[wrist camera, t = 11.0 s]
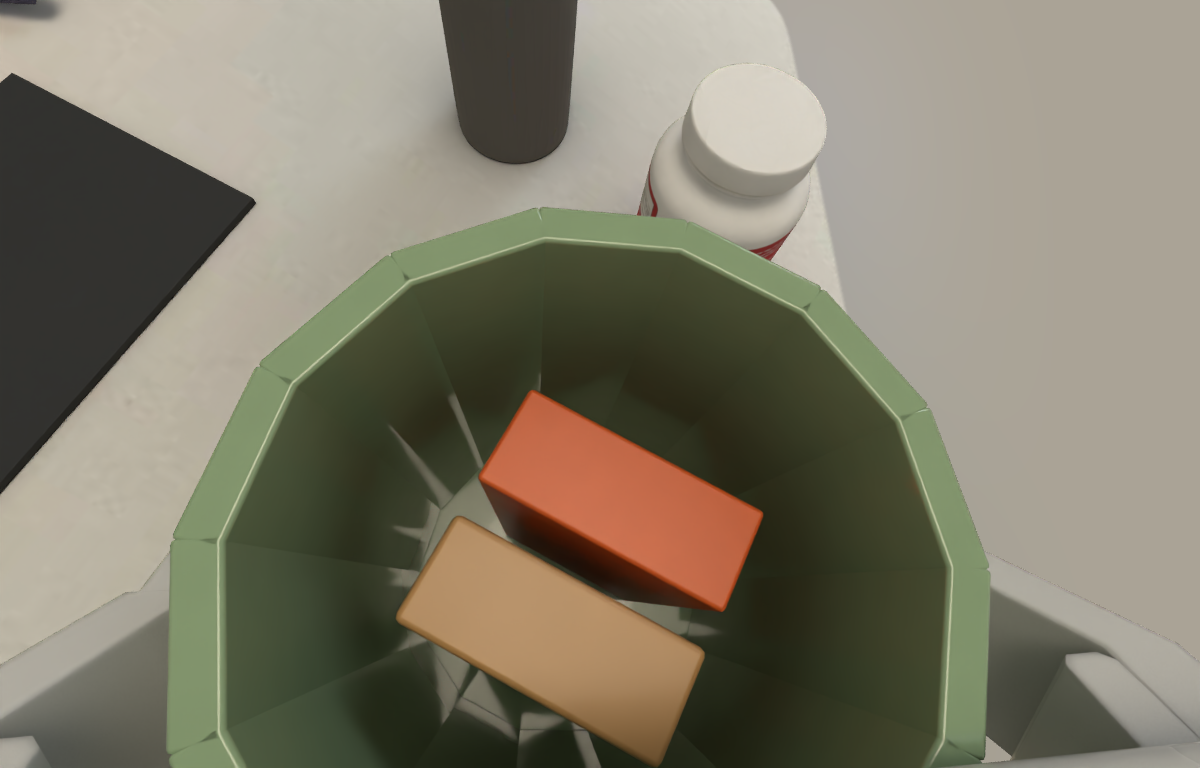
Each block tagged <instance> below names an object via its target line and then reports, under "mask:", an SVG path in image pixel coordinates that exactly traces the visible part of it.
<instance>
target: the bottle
mask: <svg viewBox="0 0 1200 768" xmlns="http://www.w3.org/2000/svg"><path fill="white" fill-rule="evenodd" d="M439 3H440V10H441V16H442V22H443V28H444V34H445V40H446V47H447V53H448V59H449V65H450V71H451V77H452V84H453V90H454V96H455V101H456V107H457V112H458V117H459V122H460V126H461V129H462V132H463V134H464V136H465V137H466V139H467V140H468V142H469V143H470V144H471V145H472V146H473V147H474V148H475V149H476V150H478V151H479V152H480V153H482V154H484V155H486V156H488V157H490V158H492V159H495V160H498V161H502V162H509V163H523V162H531V161H534V160H537V159H540V158H542V157H544V156H546V155H548V154H549V153H550V152H552V151H553V150H554V149H555V148H556V147H557V146H558V145H559V144H560V143H561V141H562V139H563V138H564V135H565V133H566V130H567V125H568V117H569V107H570V94H571V81H572V68H573V55H574V42H575V28H576V14H577V0H439Z"/></svg>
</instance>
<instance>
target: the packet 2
mask: <svg viewBox="0 0 1200 768" xmlns="http://www.w3.org/2000/svg"><path fill="white" fill-rule="evenodd" d="M396 620H397V622H398V623H399V624H400V625H402V626H404V627H406V628H407V629H409V630H411V631H413V632H415V633H416V634H418V635H420V636H422V637H423V638H425V639H427V640H429V641H430V642H432V643H434V644H436V645H437V646H439V647H441V648H443V649H444V650H446V651H448V652H450V653H451V654H453V655H455V656H457V657H458V658H460V659H462V660H464V661H466V662H467V663H469V664H471V665H473V666H474V667H476V668H478V669H480V670H481V671H483V672H485V673H487V674H488V675H490V676H492V677H494V678H495V679H497V680H499V681H501V682H502V683H504V684H506V685H508V686H509V687H511V688H513V689H515V690H517V691H518V692H520V693H522V694H524V695H525V696H527V697H529V698H531V699H532V700H534V701H536V702H538V703H539V704H541V705H543V706H545V707H546V708H548V709H550V710H552V711H553V712H555V713H557V714H559V715H561V716H562V717H564V718H566V719H568V720H569V721H571V722H573V723H575V724H576V725H578V726H580V727H582V728H583V729H585V730H587V731H589V732H590V733H592V734H594V735H596V736H597V737H599V738H601V739H603V740H604V741H606V742H608V743H610V744H612V745H613V746H615V747H617V748H619V749H620V750H622V751H624V752H626V753H627V754H629V755H631V756H633V757H634V758H636V759H638V760H640V761H641V762H643V763H645V764H647V765H648V766H650V767H658V766H659V765H660V764H661V763H662V761H663V758H664V756H665V753H666V751H667V749H668V746H669V744H670V741H671V739H672V736H673V734H674V731H675V729H676V727H677V724H678V722H679V719H680V717H681V714H682V712H683V710H684V707H685V705H686V702H687V700H688V697H689V695H690V692H691V690H692V688H693V685H694V683H695V680H696V678H697V675H698V673H699V671H700V668H701V666H702V663H703V661H704V655H705V652H704V651H703V650H702V648H701V647H699V646H698V645H696V644H694V643H692V642H690V641H688V640H687V639H685V638H683V637H681V636H679V635H678V634H676V633H674V632H672V631H670V630H669V629H667V628H665V627H663V626H661V625H659V624H658V623H656V622H654V621H652V620H650V619H649V618H647V617H645V616H643V615H641V614H640V613H638V612H636V611H634V610H632V609H630V608H629V607H627V606H625V605H623V604H621V603H620V602H618V601H616V600H614V599H612V598H611V597H609V596H607V595H605V594H603V593H601V592H600V591H598V590H596V589H594V588H592V587H591V586H589V585H587V584H585V583H583V582H582V581H580V580H578V579H576V578H574V577H572V576H571V575H569V574H567V573H565V572H563V571H562V570H560V569H558V568H556V567H554V566H553V565H551V564H549V563H547V562H545V561H543V560H542V559H540V558H538V557H536V556H534V555H533V554H531V553H529V552H527V551H525V550H523V549H522V548H520V547H518V546H516V545H514V544H513V543H511V542H509V541H507V540H505V539H504V538H502V537H500V536H498V535H496V534H494V533H493V532H491V531H489V530H487V529H485V528H484V527H482V526H480V525H478V524H476V523H475V522H473V521H471V520H469V519H467V518H465V517H464V516H456V517H455V518H453V519H452V521H451V522H450V524H449V526H448V527H447V529H446V531H445V532H444V534H443V536H442V537H441V539H440V541H439V542H438V544H437V546H436V547H435V549H434V551H433V552H432V554H431V556H430V557H429V559H428V561H427V562H426V564H425V566H424V567H423V569H422V571H421V572H420V574H419V576H418V577H417V579H416V581H415V582H414V584H413V586H412V587H411V589H410V591H409V592H408V594H407V596H406V597H405V599H404V601H403V602H402V604H401V606H400V607H399V609H398V611H397V613H396Z"/></svg>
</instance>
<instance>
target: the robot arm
mask: <svg viewBox="0 0 1200 768" xmlns="http://www.w3.org/2000/svg"><path fill="white" fill-rule="evenodd" d="M984 552H985V555H986V558H987V560H988V563H989V568H988V569H987V570H988V571H990V574H991V582H990V615H989V647H988V680H987V712H986V736H988V737H989V738H990V739H991V740H992V741H994V742H995V743H996V744H997V745H999V746H1000V747H1001V748H1002V749H1004V750H1005V751H1006V752H1007V753H1008V754H1010V755H1011V756H1012V758H1011V759H1010V761H1001V762H991V763H981V764H971V765H960V766H951V767H941V768H1200V662H1199V661H1198V660H1196V658H1195V657H1193V656H1192V655H1191V654H1190V653H1189V652H1188V651H1186V650H1185V649H1184V648H1183V647H1182V646H1180V645H1179V644H1178V643H1176V642H1174V641H1172V640H1170V639H1168V638H1166V637H1164V636H1161V635H1160V634H1157V633H1155V632H1153V631H1151V630H1149V629H1147V628H1145V627H1143V626H1140V625H1139V624H1136V623H1134V622H1132V621H1130V620H1128V619H1126V618H1124V617H1122V616H1120V615H1117V614H1116V613H1113V612H1111V611H1109V610H1107V609H1105V608H1103V607H1101V606H1099V605H1097V604H1095V603H1093V602H1090V601H1088V600H1086V599H1084V598H1082V597H1080V596H1078V595H1076V594H1074V593H1072V592H1070V591H1068V590H1065V589H1063V588H1061V587H1059V586H1057V585H1055V584H1053V583H1051V582H1049V581H1046V580H1045V579H1042V578H1040V577H1038V576H1036V575H1034V574H1032V573H1030V572H1028V571H1026V570H1024V569H1022V568H1019V567H1017V566H1015V565H1013V564H1011V563H1009V562H1007V561H1005V560H1003V559H1001V558H999V557H997V556H994V555H992V554H990V553H988V552H986V551H984ZM169 589H170V552H169V553H168V554H167V555H166V557H165V558H164V559H163V561H162V562H161V563H160V565H159V566H158V567H157V569H156V570H155V571H154V572H153V574H152V575H151V576H150V578H149V579H148V580H147V582H146V583H145V584H144V585H143V587H142V588H141V589H140V591H139V592H125V593H123V594H122V595H120V596H118V597H117V598H115V599H113V600H111V601H110V602H108V603H106V604H104V605H103V606H101V607H99V608H98V609H96V610H94V611H92V612H91V613H89V614H87V615H85V616H84V617H82V618H80V619H78V620H77V621H75V622H73V623H72V624H70V625H68V626H66V627H65V628H63V629H61V630H59V631H58V632H56V633H54V634H53V635H51V636H49V637H47V638H46V639H44V640H42V641H40V642H39V643H37V644H35V645H34V646H32V647H30V648H28V649H27V650H25V651H23V652H21V653H20V654H18V655H16V656H15V657H13V658H11V659H9V660H8V661H6V662H4V663H2V664H1V665H0V768H171V766H170V764H169V758H170V757H171V755H170V754H168V753H167V751H166V738H167V688H168V638H169Z"/></svg>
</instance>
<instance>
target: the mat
mask: <svg viewBox="0 0 1200 768" xmlns="http://www.w3.org/2000/svg"><path fill="white" fill-rule="evenodd" d="M255 203H256V202H255V201H254V199H253V198H252V197H250V196H248V195H246V194H244V193H242V192H240V191H238V190H236V189H234V188H232V187H230V186H228V185H227V184H225V183H223V182H221V181H219V180H217V179H215V178H213V177H211V176H209V175H207V174H205V173H203V172H202V171H200V170H198V169H196V168H194V167H192V166H190V165H188V164H186V163H184V162H182V161H180V160H179V159H177V158H175V157H173V156H171V155H169V154H167V153H165V152H163V151H161V150H159V149H157V148H155V147H154V146H152V145H150V144H148V143H146V142H144V141H142V140H140V139H138V138H136V137H134V136H132V135H130V134H129V133H127V132H125V131H123V130H121V129H119V128H117V127H115V126H113V125H111V124H109V123H107V122H105V121H104V120H102V119H100V118H98V117H96V116H94V115H92V114H90V113H88V112H86V111H84V110H82V109H81V108H79V107H77V106H75V105H73V104H71V103H69V102H67V101H65V100H63V99H61V98H59V97H57V96H56V95H54V94H52V93H50V92H48V91H46V90H44V89H42V88H40V87H38V86H36V85H34V84H32V83H31V82H29V81H27V80H25V79H23V78H21V77H19V76H17V75H15V74H13V73H11V74H10V75H9V76H8V77H7V78H5V79H4V80H3V81H2V82H1V83H0V492H1V491H2V490H3V489H4V488H5V487H6V486H7V484H8V483H9V482H10V481H11V480H12V479H13V478H14V476H15V475H16V474H17V473H18V472H19V471H20V470H21V469H22V467H23V466H24V465H25V464H26V463H27V462H28V461H29V459H30V458H31V457H32V456H33V455H34V454H35V453H36V452H37V450H38V449H39V448H40V447H41V446H42V445H43V444H44V442H45V441H46V440H47V439H48V438H49V437H50V436H51V435H52V433H53V432H54V431H55V430H56V429H57V428H58V427H59V425H60V424H61V423H62V422H63V421H64V420H65V419H66V418H67V416H68V415H69V414H70V413H71V412H72V411H73V410H74V408H75V407H76V406H77V405H78V404H79V403H80V402H81V400H82V399H83V398H84V397H85V396H86V395H87V394H88V393H89V391H90V390H91V389H92V388H93V387H94V386H95V385H96V383H97V382H98V381H99V380H100V379H101V378H102V377H103V376H104V374H105V373H106V372H107V371H108V370H109V369H110V368H111V366H112V365H113V364H114V363H115V362H116V361H117V360H118V359H119V357H120V356H121V355H122V354H123V353H124V352H125V351H126V349H127V348H128V347H129V346H130V345H131V344H132V343H133V342H134V340H135V339H136V338H137V337H138V336H139V335H140V334H141V332H142V331H143V330H144V329H145V328H146V327H147V326H148V325H149V323H150V322H151V321H152V320H153V319H154V318H155V317H156V315H157V314H158V313H159V312H160V311H161V310H162V309H163V308H164V306H165V305H166V304H167V303H168V302H169V301H170V300H171V298H172V297H173V296H174V295H175V294H176V293H177V292H178V291H179V289H180V288H181V287H182V286H183V285H184V284H185V283H186V281H187V280H188V279H189V278H190V277H191V276H192V275H193V274H194V272H195V271H196V270H197V269H198V268H199V267H200V266H201V264H202V263H203V262H204V261H205V260H206V259H207V258H208V256H209V255H210V254H211V253H212V252H213V251H214V250H215V249H216V247H217V246H218V245H219V244H220V243H221V242H222V241H223V239H224V238H225V237H226V236H227V235H228V234H229V233H230V232H231V230H232V229H233V228H234V227H235V226H236V225H237V224H238V222H239V221H240V220H241V219H242V218H243V217H244V216H245V215H246V213H247V212H248V211H249V210H250V209H251V208H252V207H253V205H254V204H255Z"/></svg>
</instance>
